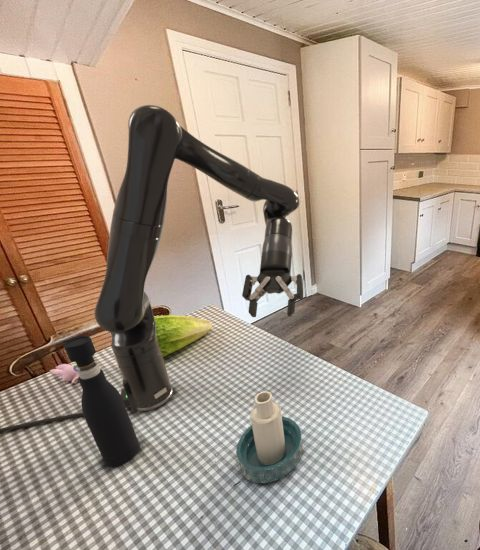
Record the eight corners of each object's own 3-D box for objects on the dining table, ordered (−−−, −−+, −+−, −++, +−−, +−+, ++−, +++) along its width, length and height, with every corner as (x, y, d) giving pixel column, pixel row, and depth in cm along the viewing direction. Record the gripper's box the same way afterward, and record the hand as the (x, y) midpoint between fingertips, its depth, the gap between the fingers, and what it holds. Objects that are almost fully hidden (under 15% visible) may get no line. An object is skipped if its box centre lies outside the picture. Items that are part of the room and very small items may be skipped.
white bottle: (262, 470, 64) (252, 413, 58) (254, 449, 69) (244, 394, 63) (289, 456, 67) (282, 400, 61) (280, 436, 72) (273, 383, 66)
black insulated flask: (121, 470, 65) (72, 353, 54) (96, 464, 66) (44, 349, 55) (146, 444, 71) (107, 334, 60) (124, 439, 72) (81, 330, 61)
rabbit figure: (108, 378, 93) (65, 366, 95) (104, 363, 91) (61, 351, 92) (87, 393, 87) (42, 380, 89) (83, 377, 85) (37, 364, 87)
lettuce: (227, 322, 111) (206, 296, 115) (157, 344, 91) (136, 310, 95) (215, 346, 117) (196, 320, 121) (148, 371, 97) (128, 339, 102)
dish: (248, 499, 60) (245, 484, 58) (233, 447, 70) (230, 433, 68) (312, 463, 67) (310, 448, 65) (289, 421, 77) (288, 407, 75)
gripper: (244, 249, 75) (235, 312, 68) (302, 248, 76) (299, 310, 69) (253, 262, 82) (245, 320, 75) (306, 261, 83) (303, 319, 76)
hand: (271, 316), depth 72 cm, fingers open, 8 cm apart
